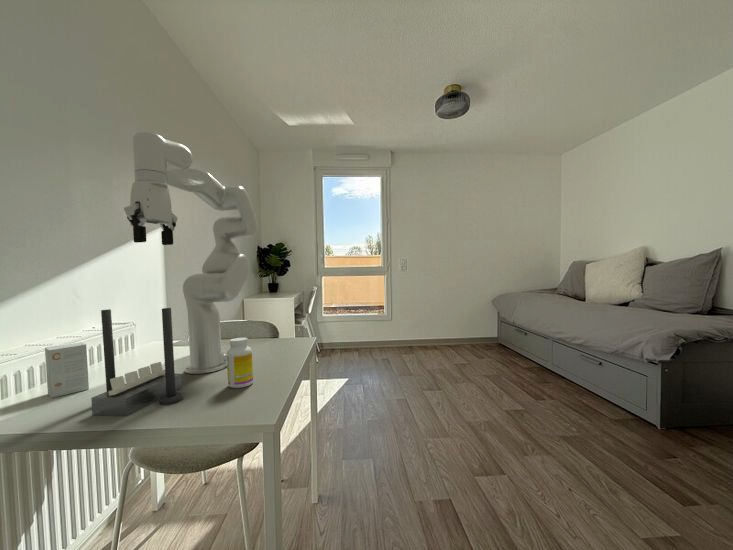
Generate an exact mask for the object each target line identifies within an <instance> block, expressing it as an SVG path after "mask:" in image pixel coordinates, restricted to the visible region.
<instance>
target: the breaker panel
mask: <svg viewBox="0 0 733 550" xmlns="http://www.w3.org/2000/svg"><path fill="white" fill-rule="evenodd" d="M138 378H139V379H140V377H138ZM126 384H127V383H125V385H126ZM182 388H183V383H182V373H175V390H176V392H178V390H180V389H182ZM109 391H111V390H109ZM109 391H107V390H106V391H104V392H102V393H100V394H99V393H98V394H97V395H95V396H93V397H91V398H90V399H91V400H90V401H91V413H92V414H91V415H92V416H108V415H116V416H115V417H128V416H129V415H132V414H133V413H136V412H137V411H139V410H142V409H143V408H145V407H147V406H149V405H151V404H154V403H155V402H157V401H160V397H161V396H163V395H165V394H166V378H165V374H163V375H160V376H158V377H156V378H153V379H151V380H148V381H146V382H144V383H141V384H139V385H137V386H134V387H132V388H129V389H127V390H125V391H122V392H120V393H118V394H115V395H111V396H109Z"/></svg>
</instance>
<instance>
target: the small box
mask: <svg viewBox="0 0 733 550" xmlns="http://www.w3.org/2000/svg"><path fill="white" fill-rule="evenodd" d="M87 350H88V349H87V344H86V343H84V342H81V341H79V342H75V343H74V342H73V343H67V344H66V343H65V344H59V345H54V346H48V347H47V346H46V347H44V354H45V355H44V358H45V372H46V384H47V386H46V389H47V394H48V395H49V397H50V398H51V399H53V397H54V398H58V397H62V396H66V395H71V394H74V393H78V392H79V393H80V392H83V391H88V390H89V389H90V386H89V385H90V384H89V382H90V381H89V368H88V353H87V352H88V351H87Z"/></svg>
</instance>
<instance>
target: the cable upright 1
mask: <svg viewBox="0 0 733 550" xmlns="http://www.w3.org/2000/svg"><path fill="white" fill-rule="evenodd" d="M100 313H101V327H102V328H101V329H102V342H103V343H102V344H103V357H104V371H105V375H104V376H105V386H106V392H107V391H109V390H112V386H111V382H110V379H112V378H115V377H116V365H115V362H116V361H115V354H114V353H115V351H114V336H113V333H114V332H113V322H112V320H113V319H112V309H111V308H110V309H101V310H100Z"/></svg>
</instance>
